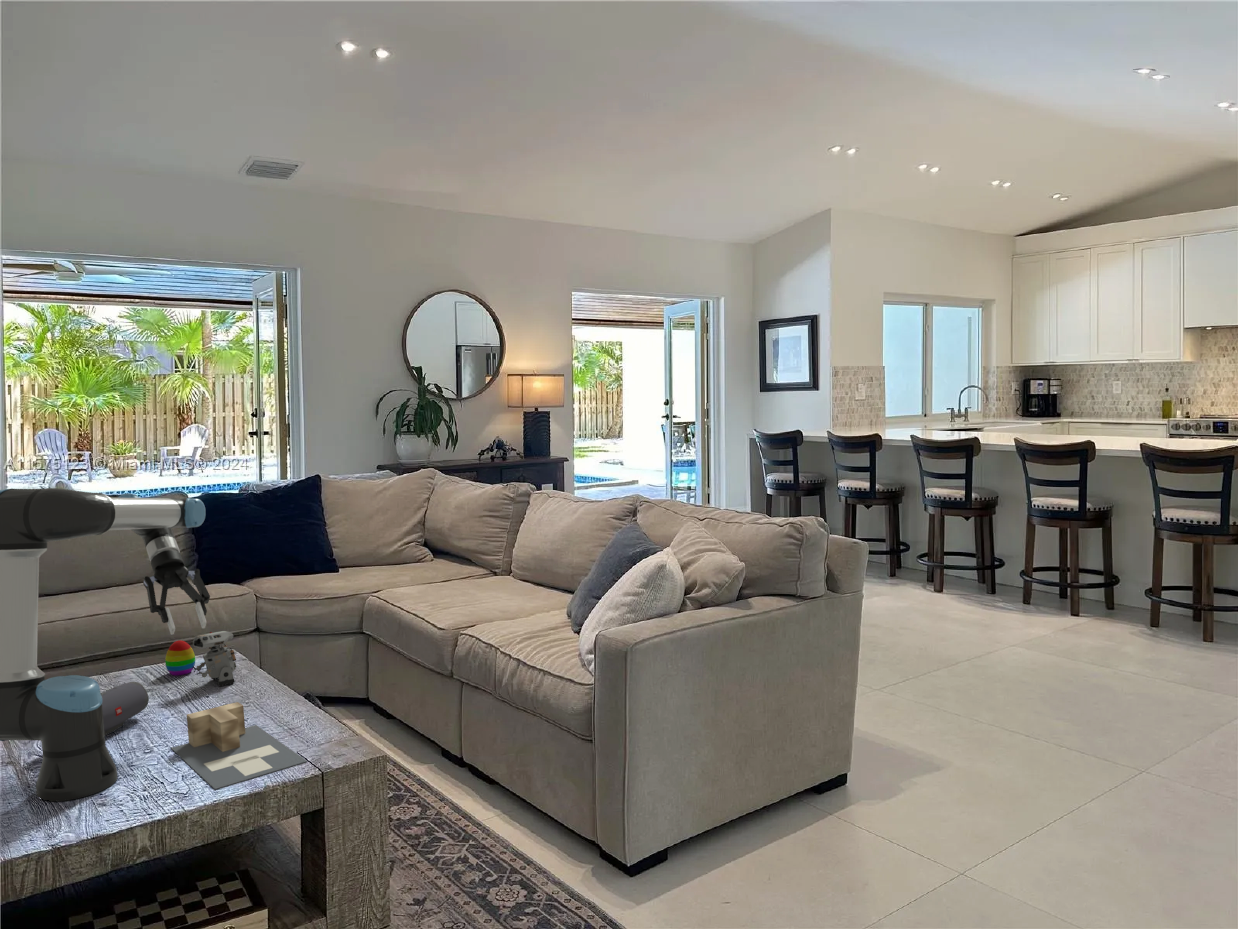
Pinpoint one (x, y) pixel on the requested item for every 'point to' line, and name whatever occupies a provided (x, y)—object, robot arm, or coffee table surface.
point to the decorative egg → (180, 658)
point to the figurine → (217, 657)
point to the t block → (217, 726)
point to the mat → (239, 758)
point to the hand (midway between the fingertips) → (188, 628)
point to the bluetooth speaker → (122, 704)
